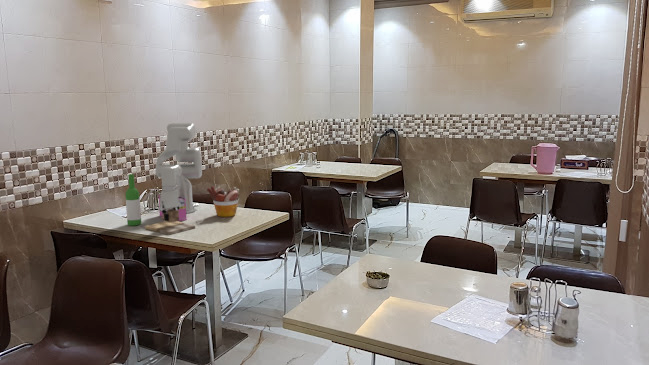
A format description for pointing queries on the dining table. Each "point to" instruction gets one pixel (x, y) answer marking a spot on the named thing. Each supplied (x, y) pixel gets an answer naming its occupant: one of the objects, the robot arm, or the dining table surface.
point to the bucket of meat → (224, 201)
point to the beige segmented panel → (162, 225)
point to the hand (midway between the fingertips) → (170, 219)
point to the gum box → (181, 210)
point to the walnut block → (172, 215)
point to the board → (177, 228)
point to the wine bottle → (133, 203)
